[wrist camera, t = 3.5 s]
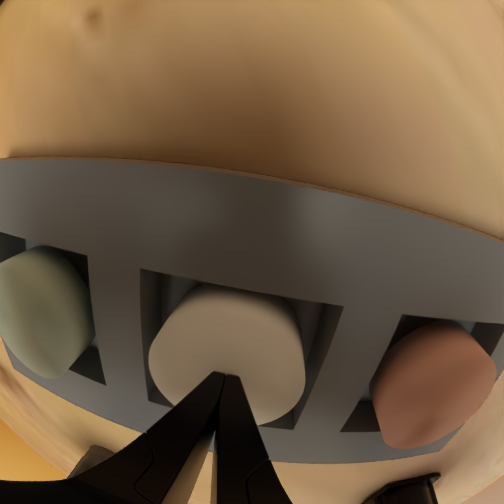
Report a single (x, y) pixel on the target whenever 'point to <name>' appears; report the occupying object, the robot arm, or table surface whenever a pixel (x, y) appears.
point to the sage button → (44, 311)
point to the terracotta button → (430, 384)
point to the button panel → (250, 283)
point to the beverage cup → (91, 459)
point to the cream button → (232, 347)
